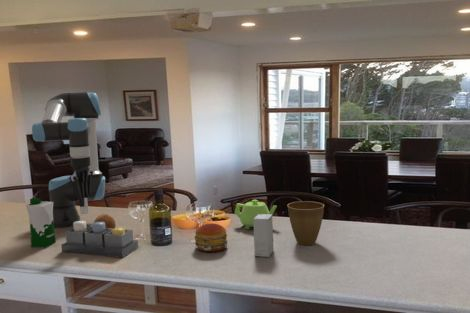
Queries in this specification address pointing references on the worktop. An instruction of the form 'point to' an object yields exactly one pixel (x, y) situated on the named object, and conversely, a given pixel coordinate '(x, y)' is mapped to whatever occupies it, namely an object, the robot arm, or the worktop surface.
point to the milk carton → (41, 223)
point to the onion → (106, 220)
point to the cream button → (79, 226)
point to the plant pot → (306, 220)
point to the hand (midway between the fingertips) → (84, 213)
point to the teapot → (251, 212)
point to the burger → (211, 237)
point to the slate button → (98, 227)
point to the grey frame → (99, 243)
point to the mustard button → (118, 231)
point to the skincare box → (263, 235)
